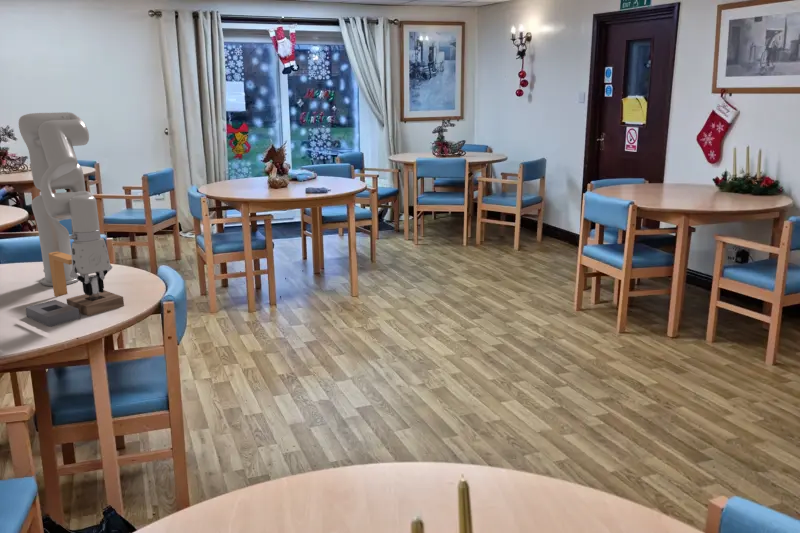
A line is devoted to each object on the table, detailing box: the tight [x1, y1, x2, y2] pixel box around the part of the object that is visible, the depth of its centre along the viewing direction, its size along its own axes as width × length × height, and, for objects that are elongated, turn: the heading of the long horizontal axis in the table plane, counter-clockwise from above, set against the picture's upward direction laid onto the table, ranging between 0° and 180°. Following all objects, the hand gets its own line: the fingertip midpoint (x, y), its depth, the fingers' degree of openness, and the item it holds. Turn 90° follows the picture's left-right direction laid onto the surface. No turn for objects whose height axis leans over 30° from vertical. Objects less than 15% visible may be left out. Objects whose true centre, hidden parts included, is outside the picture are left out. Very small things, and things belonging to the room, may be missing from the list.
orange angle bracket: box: [48, 252, 72, 298], centre depth 222 cm, size 14×4×15 cm, turn 53°
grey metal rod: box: [89, 274, 101, 301], centre depth 213 cm, size 3×3×10 cm
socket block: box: [66, 289, 125, 317], centre depth 214 cm, size 12×12×4 cm
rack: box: [25, 299, 81, 328], centre depth 205 cm, size 14×9×4 cm, turn 53°
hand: (94, 292), depth 213 cm, fingers closed on grey metal rod, 3 cm apart
